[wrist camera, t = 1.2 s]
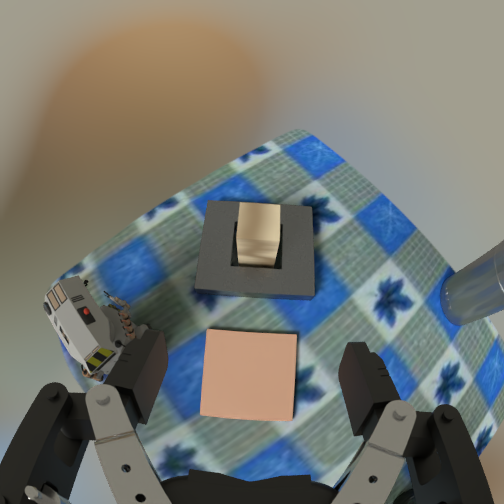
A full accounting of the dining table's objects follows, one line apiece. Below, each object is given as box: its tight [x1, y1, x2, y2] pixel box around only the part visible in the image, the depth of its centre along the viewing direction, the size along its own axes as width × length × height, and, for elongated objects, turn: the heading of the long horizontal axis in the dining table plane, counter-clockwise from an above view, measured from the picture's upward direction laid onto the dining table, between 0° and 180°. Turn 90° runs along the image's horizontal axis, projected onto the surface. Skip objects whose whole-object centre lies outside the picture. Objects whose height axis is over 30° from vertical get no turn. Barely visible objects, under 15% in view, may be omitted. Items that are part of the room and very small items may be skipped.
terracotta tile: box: [200, 329, 297, 421], centre depth 33 cm, size 12×12×1 cm
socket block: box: [194, 200, 315, 300], centre depth 40 cm, size 16×14×2 cm
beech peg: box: [236, 202, 280, 269], centre depth 37 cm, size 5×5×9 cm
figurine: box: [44, 276, 151, 382], centre depth 28 cm, size 9×12×15 cm
